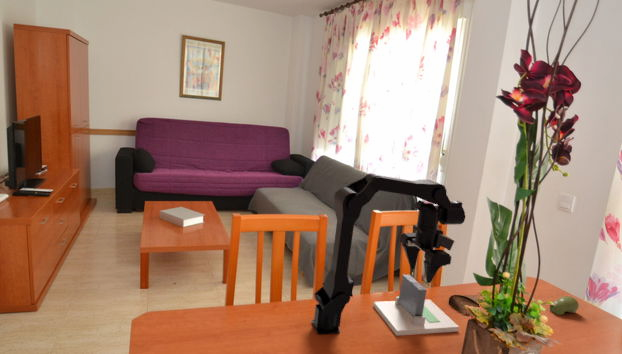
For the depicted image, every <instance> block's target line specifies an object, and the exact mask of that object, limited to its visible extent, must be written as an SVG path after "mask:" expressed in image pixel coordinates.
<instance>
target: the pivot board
mask: <svg viewBox="0 0 622 354" xmlns="http://www.w3.org/2000/svg"><path fill="white" fill-rule="evenodd" d="M372 306H373V308H374V309H375V310H376V311H377V313H378V314H379V315H380V316H381V318H382V320H383V321H385V323H386V324H387V325H388V326H389V329H391V330H392V332H393V333H394V334H395V336H397V337H398V336H409V335H410V336H411V335H423V334H438V333H452V332H453V333H454V332H455V333H456V332H459V328H460V326H459V325H458V324H457V323H456V322H455V321H454V320H452V318H451V317H449V316H448V315H447V314H446V313H445V312H444V311H443V310H442V309H441V308H440V307H439V306H437V305H436V304H435V303H434V302H433V301H432V300H431V299H425V303H424V308H423V314H422V316H415V317H414V318H413V317H412V316H411V315H410V314H409V313H408V312H407V311H406V310H405V309H404V308H403V306H402V305H401V304H400V302H399V295H397V296H395V300H390V301H389V300H388V301H387V300H386V301H373V305H372Z"/></svg>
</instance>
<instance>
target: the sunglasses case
mask: <svg viewBox="0 0 622 354" xmlns="http://www.w3.org/2000/svg"><path fill="white" fill-rule="evenodd" d="M479 295H480V294H466V295H465V294H463V295H462V294H453V295H450V296H449V298H448V304H449V305H450V306H451V308H453V309H454V310H456V312H458V313H459V314H461V315H462V316H465V315H466V316H468V315H467V309H466V308H465V306H464V305H468V306H473V307H480V306H479V304H478V303H477V297H478V296H479Z"/></svg>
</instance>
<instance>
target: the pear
mask: <svg viewBox="0 0 622 354" xmlns="http://www.w3.org/2000/svg"><path fill="white" fill-rule="evenodd" d="M552 302H553V303H554V305H551V304H550V305H549V311H550V312H552V313H553V314H555V315H557V316H564V314H565V313H570V314H572V313H576V312H577V311H578V309H579V301H578V300H577V299H576V298H575V297H573V296H570V295H569V296H568V295H564V296H560V297H559V298H557V300H555V301H552Z"/></svg>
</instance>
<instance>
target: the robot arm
mask: <svg viewBox="0 0 622 354" xmlns="http://www.w3.org/2000/svg"><path fill="white" fill-rule="evenodd" d="M379 191H381V192H385V193H393V194H397V195H398V194H399V195H405V196H412V197H415V198H418V199H421V200H417V202H415V203H413V205H412V208H414V209H415V210H417V211H418V213H417V214H418V215H417V221H416V225H415V224H414V225H413V230H415V232H403V233H402V234H401V235H400V236H399V242H400V243H401V247H402V248H403V250H404V252H405V257H406V259H407V261H408V265H409V268H410V270H415V268H416V265H417V262H418V261H417V260H418V256H419V253H420V252H421V251H422V252H423V253H424V260H423V266H424V267H423V268H424V274H425V279H426V283H427V284H431V283H432V281H433V279H434V277H435V276H436V275H437V272H438V271H439V269H440V268H441V267H443V266H447V265H451V263H452V255H450V253H448V252H447V251H451V250H452V248H453V245H454V243H455V240H454V239H452V238H451V237H449V236H447V235H445V234H444V231H443V230H441V229H440V228H439V227H438V226H439V224H440V225H445V226H446V225H451V226H452V225H453V226H455V225H456V226H457V225H462V224H463V223H464V222H465V220H466V212H465V209H464V208H463V202H462V201H460V200H453V201H451V200H450V199H449V196H448V195H447V193H448V192H447V188H446V185H444V184H442V183H439V182H437V181H434V180H431V179H415V180H407V179H402V178H398V177H397V178H396V177H392V176H385V175H379V174H375V173H373V172H372V173H371V172H370V173H368V174H366V175H365V176H364V177H362V178H360V179H358V180H356V181H352V182H351V183H348V185H346V186H345V187H341V188H339V189H338V190H337V191H335V193H334V197H333V204H334V212H335V213H334V214H335V217H336V227H335V236H334V244H333V251H332V259H331V265H330V266H331V267H330V270H329V272H328V273H327V275H326V276H325V279H324V282H323V285H322V286H321V287H320V288H319V289H318V290H317V291H316V292H315V293H314V299H315V301H316V302H317V304H315V307H314V308H315V309H314V316H313V319H311V324H312V325H313V327H314V330H315V332H316V333H317V334H318V335H324V334H325V335H327V334H339V333H341V330H340V327H341V318H342V313H343V311H344V309H345V307H346V305H347V304H348V303H350V300H351V297H352V298H353V290H354V285H355V282H354V281H353V280H352V278H350V276H349V273H348V272H349V266H350V265H349V264H350V257H351V249H352V243H353V235H354V228H355V224H356V222H357V221H358V220H359V218H360V216H361V213H362V210H363V207H364V206H365V205H367V204H368V203H369V202H370V201H371V200H372V199H373V198H374V196H375V195H376V194H377V193H378V192H379ZM424 201H426V202H424ZM441 247H442V248H443V249H446V251H445V250H443V249H440V248H441Z"/></svg>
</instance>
